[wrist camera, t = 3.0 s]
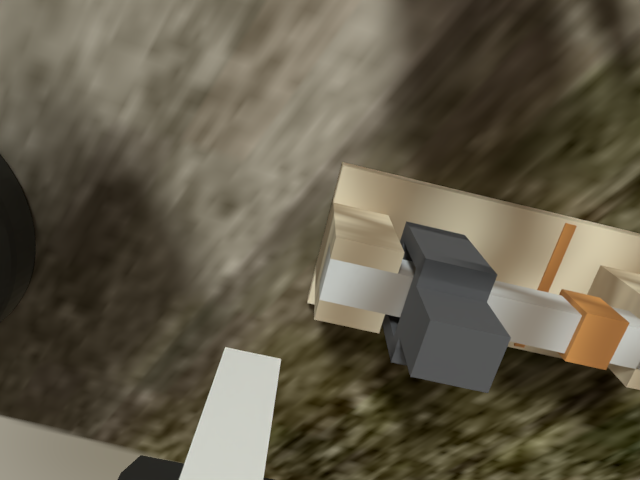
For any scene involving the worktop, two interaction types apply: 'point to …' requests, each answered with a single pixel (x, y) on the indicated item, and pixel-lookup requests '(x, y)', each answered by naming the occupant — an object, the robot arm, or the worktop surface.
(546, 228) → the rail
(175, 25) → the worktop surface
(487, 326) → the dark grey sliding collar
